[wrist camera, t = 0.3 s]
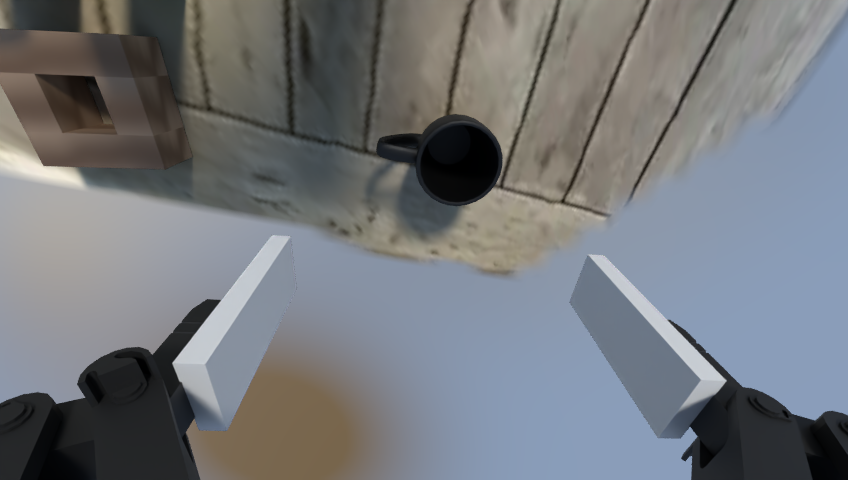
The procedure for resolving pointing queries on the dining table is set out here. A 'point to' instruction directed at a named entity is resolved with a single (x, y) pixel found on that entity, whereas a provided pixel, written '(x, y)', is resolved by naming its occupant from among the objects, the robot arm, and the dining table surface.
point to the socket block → (75, 107)
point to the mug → (449, 158)
